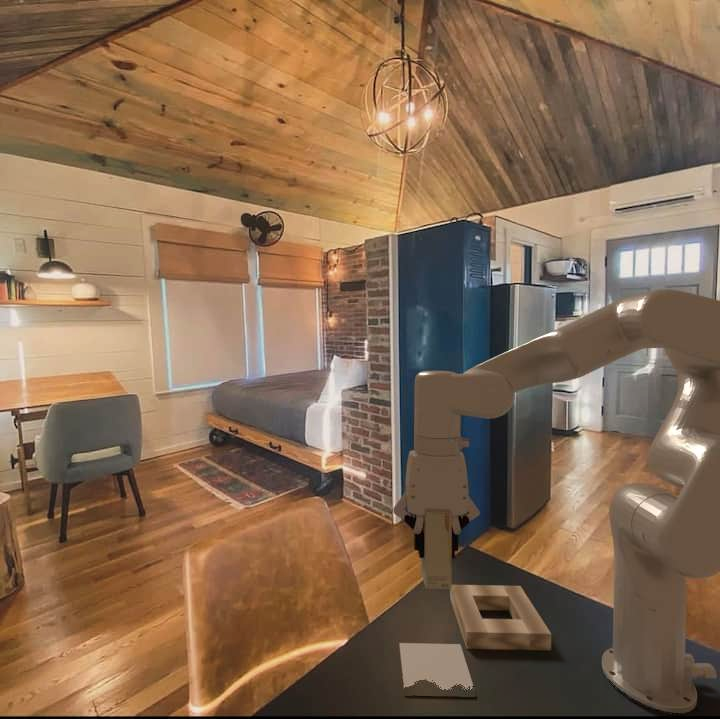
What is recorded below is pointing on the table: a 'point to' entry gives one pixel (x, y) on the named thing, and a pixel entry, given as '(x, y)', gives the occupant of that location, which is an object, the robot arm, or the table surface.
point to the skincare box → (437, 550)
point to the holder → (498, 633)
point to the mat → (434, 665)
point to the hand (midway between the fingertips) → (435, 553)
